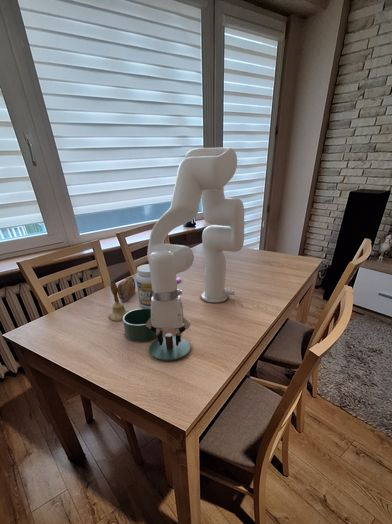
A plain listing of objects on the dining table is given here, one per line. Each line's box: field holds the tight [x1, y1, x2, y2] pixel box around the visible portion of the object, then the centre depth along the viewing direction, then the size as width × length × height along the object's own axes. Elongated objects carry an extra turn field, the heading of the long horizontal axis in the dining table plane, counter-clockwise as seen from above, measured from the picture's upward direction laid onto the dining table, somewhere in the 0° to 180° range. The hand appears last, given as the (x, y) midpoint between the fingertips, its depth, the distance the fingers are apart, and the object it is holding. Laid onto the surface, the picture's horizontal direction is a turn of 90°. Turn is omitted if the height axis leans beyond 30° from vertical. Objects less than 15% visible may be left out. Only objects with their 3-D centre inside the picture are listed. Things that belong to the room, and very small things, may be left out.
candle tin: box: [122, 307, 157, 343], centre depth 103 cm, size 13×13×7 cm
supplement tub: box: [135, 263, 153, 309], centre depth 121 cm, size 12×12×17 cm
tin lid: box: [148, 332, 191, 362], centre depth 94 cm, size 14×14×6 cm
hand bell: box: [109, 279, 129, 322], centre depth 112 cm, size 8×8×16 cm
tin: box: [117, 276, 136, 302], centre depth 131 cm, size 15×3×8 cm, turn 168°
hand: (169, 342), depth 94 cm, fingers open, 5 cm apart
